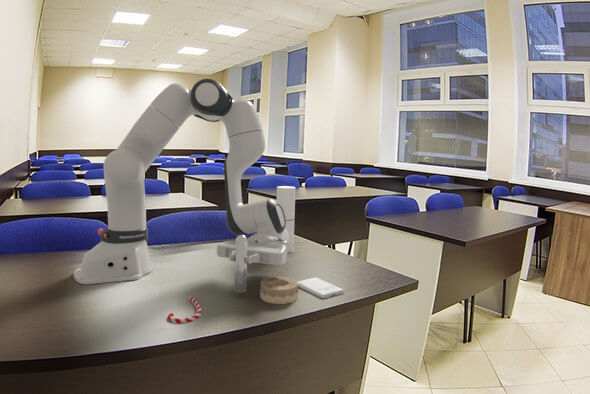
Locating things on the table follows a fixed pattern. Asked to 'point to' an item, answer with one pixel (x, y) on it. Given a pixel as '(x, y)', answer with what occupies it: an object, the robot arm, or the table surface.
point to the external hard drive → (319, 287)
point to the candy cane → (190, 319)
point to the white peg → (240, 264)
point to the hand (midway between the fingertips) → (239, 259)
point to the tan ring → (279, 290)
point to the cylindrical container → (288, 210)
